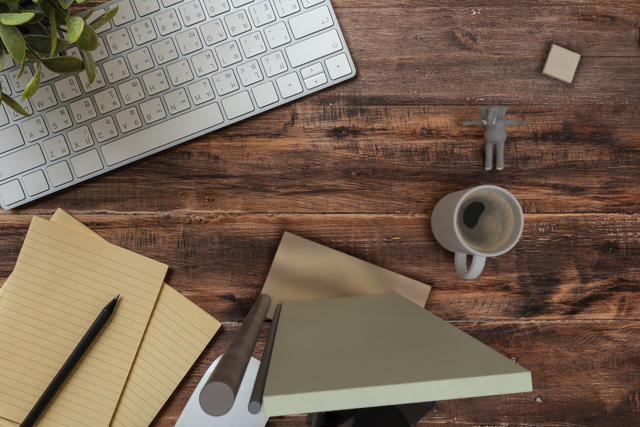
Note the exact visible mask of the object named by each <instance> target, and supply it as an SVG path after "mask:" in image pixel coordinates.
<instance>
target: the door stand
mask: <svg viewBox="0 0 640 427" xmlns="http://www.w3.org/2000/svg"><path fill="white" fill-rule="evenodd" d="M431 290H432V286H431V285H430V284H427V283H424V282H422V281H419V280H416V279H415V278H411V277H409V276H406V275H404V274H400V273H397V272H395V271H392V270H389V269H387V268H385V267H383V266H379V265H377V264H374V263H371V262H370V261H366V260H364V259H361V258H358V257H356V256H352V255H350V254H347V253H346V252H343V251H340V250H336V249H334V248H332V247H329V246H326V245H324V244H321V243H319V242H316V241H313V240H311V239H308V238H305V237H302V236H300V235H297V234H295V233H292V232H289V231H287V230H284V232H283V234H282V237H281V239H280V242H279V243H278V247H277V250H276V253H275V255H274V258H273V260H272V263H271V266H270V269H269V271H268V273H267V276H266V279H265V282H264V284H263V287H262V289H261V292H260V294H259V295H258V296H257V298H256V299H255V301H254V303H252V304H253V305H252V306H251V308H250V309H249V311H248V313H247V314H246V316H245V317H244V319H243V321H242V322H241V324H240V326H239V327H238V329H237V330H236V332H235V334H234V335H233V338H232V339H231V340H230V342H229V344H228V345H227V347H226V348H225V350H224V352H223V354H222V355H221V356H220V359H219V360H218V362H217V364H216V365H215V367H214V368H213V370H212V371H211V373H210V375H209V377H208V378H207V380H206V381H205V383H204V385H203V386H202V388H201V389H200V391H199V395H198V402H199V407H200V409H201V410H202V411H203V412H204V413H205V414H206V415H208V416H211V417H214V418H215V417H217V418H218V417H223V416H225V415H227V414H229V412H230V411H231V410H232V408H233V407H234V405H235V402H236V399H237V397H238V393H239V391H240V388H241V385H242V383H243V380H244V377H245V375H246V372H247V369H248V367H249V364H250V361H251V359H252V356H253V353H254V351H255V348H256V345H257V343H258V340H259V337H260V334H261V331H262V329H263V326H264V324H265V321H266V318H267V319H270V320H272V319H273V316H274V312H275V309H276V305H277V304H281V305H282V303H283V302H291V301H302V300H314V299H326V298H338V297H350V296H362V295H374V294H385V293H399V294H401V295H402V296H404V297H406V298H407V299H409V300H411V301H413V302H414V303H416V304H418V305H419V306H421V307H423V308H424V309H425V306H426V303H427V301H428V298H429V295H430V293H431Z"/></svg>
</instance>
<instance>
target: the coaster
mask: <svg viewBox="0 0 640 427" xmlns="http://www.w3.org/2000/svg"><path fill="white" fill-rule="evenodd" d="M581 56H582V55H581V54H579V53H577V52H575V51H572V50H569V49H567V48H564V47H562V46H559V45H556V44H554V43H553V44H551V46H550V48H549V51H548V54H547V57H546V60H545V62H544V65H543V68H542V70H541V74H543V75H546V76H549V77H551V78H553V79H556V80H559V81H560V82H564V83H566V84H571V83H572V81H573V79H574V76H575V73H576V71H577V67H578V65H579V61H580V59H581Z"/></svg>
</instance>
